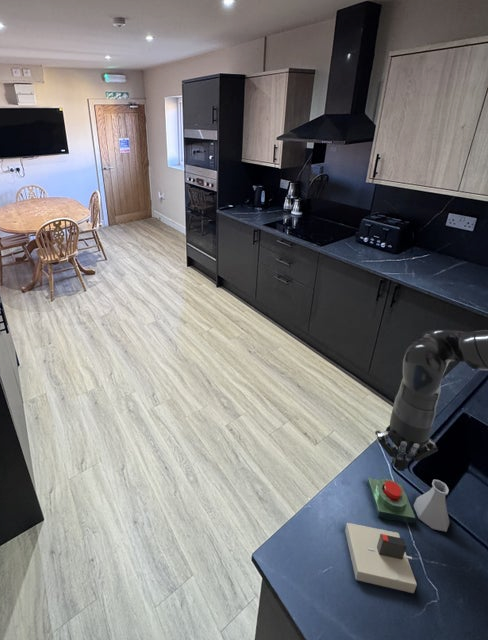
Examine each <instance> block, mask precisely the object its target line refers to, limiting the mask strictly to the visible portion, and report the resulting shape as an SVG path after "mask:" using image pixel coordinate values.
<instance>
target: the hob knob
mask: <svg viewBox="0 0 488 640" xmlns="http://www.w3.org/2000/svg"><path fill="white" fill-rule="evenodd" d="M377 549H378V553H379V555H383V556H388V557H392V558H397V559H403V556H404V553H406V550H407V543H406V541H405V538H403V537H400V538H398V537H393V536H388V535H384V534H380V537H379V541H378V545H377Z"/></svg>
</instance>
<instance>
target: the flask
mask: <svg viewBox="0 0 488 640" xmlns="http://www.w3.org/2000/svg"><path fill="white" fill-rule="evenodd" d="M449 491H450V489H449V487H448V486H447V484H446V483H445V482H443V481H441V480H439V479H433V480H432V482H431V488H430V489H429V490H428V491H426V492H425V493H423V494H420V495H419V496H417V497H416V498H415V501H414V503H413V508H414V510H415V513H416V515H417V518H418V520H420V521H421V522H423V524H426V526H428V527H429V528H430V529H432V530H435V531H436V530H437V531H441V532H445V533H447V532H448V528H449V526H450V522H451V521H450V518H449V513H448V509H447V504H446V496H448V494H449Z"/></svg>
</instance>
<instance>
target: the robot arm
mask: <svg viewBox="0 0 488 640" xmlns="http://www.w3.org/2000/svg"><path fill="white" fill-rule="evenodd" d="M451 362H463V363H465V364H466V365H467V366H468V367H470V368H471V369H474V370H477V371H488V329H482V330H481V329H480V330H472V331H462V330H454V329H453V330H452V329H429V330H425V331H422V332H419V333H417V334H416V335H415V337H414V338H413V339H412V341H411V342H410V343H409V344H408V346H407V347H406V349H405V352H404V354H403V359H402V376H401V380H400V383H399V388H398V391H397V393H396V395H395V398H394V402H393V405H392V409H391V415H390V419H389V425H388V426H387V427H386V428H385V430H384V431H382V432H381V430H375V431H374V433H375V436H376V439H377V441H378V443H379V444H380V446H381V447H382V448H383V449H384V451H385V452H386V453H387V454H388V456H389V457H391V458H392V459H391V462H392V466H393V468H395V470H396V471H399V472H405V470H407V469H408V466H409V463H410V462H411V461H412V460H414V461H415V462H419V461H422V460H423V459H425V458H427V457H429V456H431V455H433V454H435V453H436V452H438V451H439V448H438V446H437V445H436V443H435V442H434V440H433V439H432V438H430V435H431V432H432V428H433V425H434V422H435V418H436V416H437V415H436V414H437V406H438V403H439V400H440V396H441V392H442V385H441V383H442V381H443V378H444V375H445V372H446V370H447V368H448V366H449V364H450V363H451ZM389 439H390V440H391V442H392V444H393V446H392V445H391V443H390V442H389V441H390V440H389ZM418 452H419V453H418Z"/></svg>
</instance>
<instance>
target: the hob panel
mask: <svg viewBox="0 0 488 640" xmlns="http://www.w3.org/2000/svg"><path fill="white" fill-rule="evenodd" d="M344 532H345V536H346V541H347V545H348V546H347V547H348V550H349V554H350V559H351V565H352V568H353V573H354V579H355V580H356V581H359V582H363V583H368V584H373V585H377V586H380V587H384V588H390V589H392V590H393V589H394V590H397V591H402V592H406V593H411V594H414V593H415V591H416V588H417V586H418V585H417V581H416V578H415V575H414V573H413V570H412V567H411V564H410V561H409V560H413V556H409V555H407V552H405V553H404V556H403V559H397V558H392V557H388V556H383V555H379V553H378V549H377V545H378V541H379V537H380V534H384V535H388V536H393V537H398V538H401V536H400V533H399V532H396V531H390V530H386V529H382V528H376V527H371V526H367V525H362V524H356V523H351V522H346V525H345V530H344Z"/></svg>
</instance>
